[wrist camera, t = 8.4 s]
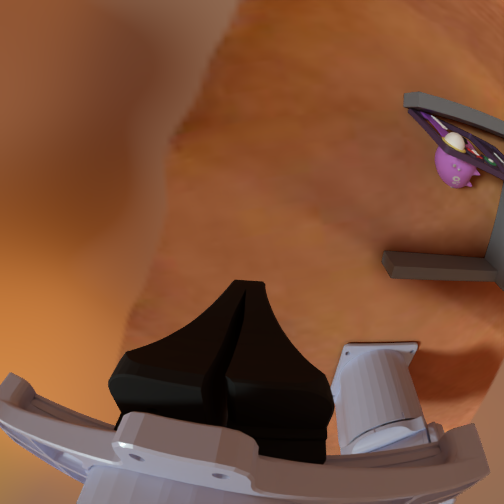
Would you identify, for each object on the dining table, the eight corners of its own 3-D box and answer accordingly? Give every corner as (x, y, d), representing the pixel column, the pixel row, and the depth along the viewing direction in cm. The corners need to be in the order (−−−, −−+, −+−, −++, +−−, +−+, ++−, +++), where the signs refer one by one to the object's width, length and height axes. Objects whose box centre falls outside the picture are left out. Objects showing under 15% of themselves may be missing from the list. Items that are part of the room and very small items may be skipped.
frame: (487, 268, 21) (509, 290, 17) (381, 262, 22) (397, 289, 18) (516, 132, 15) (546, 139, 11) (404, 93, 16) (429, 90, 12)
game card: (543, 186, 11) (452, 135, 11) (508, 242, 15) (416, 212, 15) (498, 139, 15) (411, 97, 16) (474, 188, 19) (390, 158, 19)
